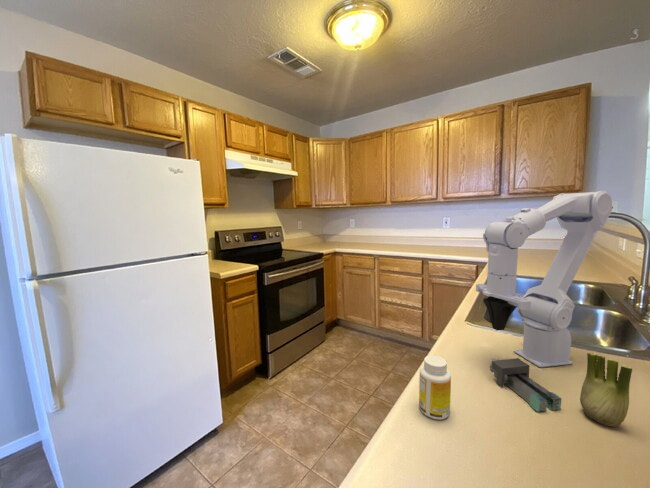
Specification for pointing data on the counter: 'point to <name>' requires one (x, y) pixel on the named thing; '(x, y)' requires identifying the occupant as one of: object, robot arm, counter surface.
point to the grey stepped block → (509, 368)
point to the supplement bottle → (435, 388)
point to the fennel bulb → (605, 390)
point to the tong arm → (525, 392)
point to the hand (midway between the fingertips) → (498, 328)
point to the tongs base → (538, 390)
